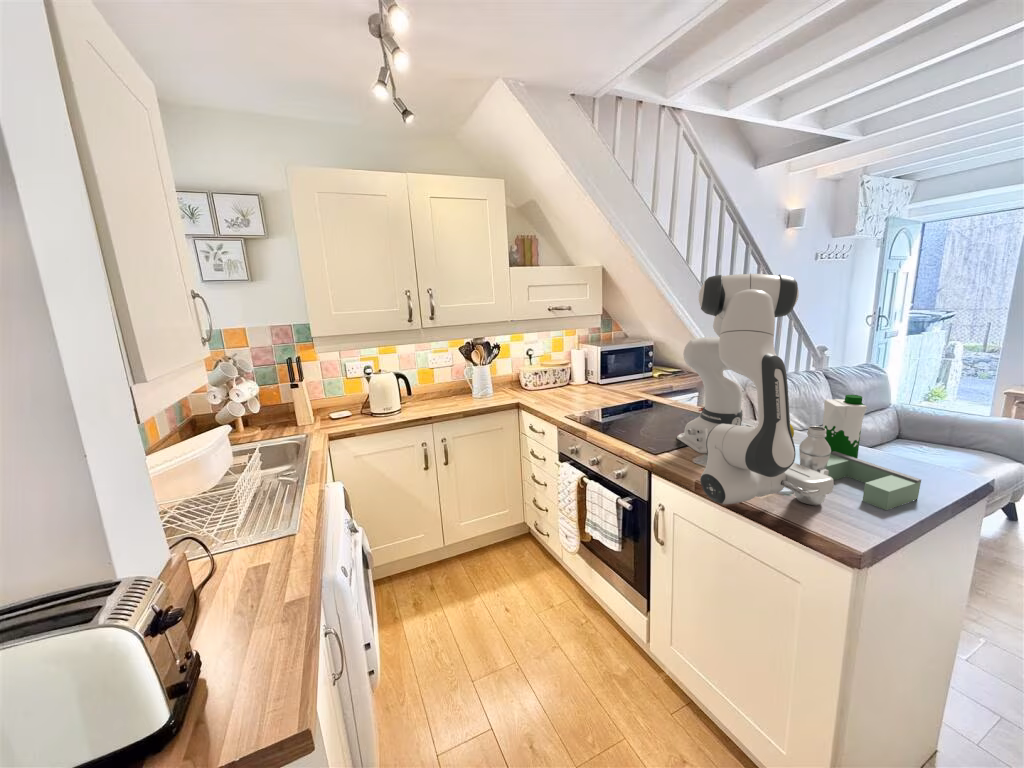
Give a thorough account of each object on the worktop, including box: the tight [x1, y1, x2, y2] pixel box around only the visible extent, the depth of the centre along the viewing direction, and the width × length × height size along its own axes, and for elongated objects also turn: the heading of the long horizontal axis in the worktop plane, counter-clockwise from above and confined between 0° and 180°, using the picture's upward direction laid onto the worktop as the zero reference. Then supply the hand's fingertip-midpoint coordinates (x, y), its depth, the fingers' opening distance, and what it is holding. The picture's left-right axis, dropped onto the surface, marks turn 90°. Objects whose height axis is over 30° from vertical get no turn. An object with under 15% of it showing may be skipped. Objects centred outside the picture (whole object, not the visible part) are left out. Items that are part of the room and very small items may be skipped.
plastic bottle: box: [793, 425, 831, 506], centre depth 99 cm, size 6×7×20 cm
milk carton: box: [821, 394, 868, 459], centre depth 122 cm, size 9×9×20 cm
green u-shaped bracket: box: [826, 451, 922, 511], centre depth 105 cm, size 20×12×6 cm, turn 18°
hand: (805, 464), depth 98 cm, fingers open, 8 cm apart
